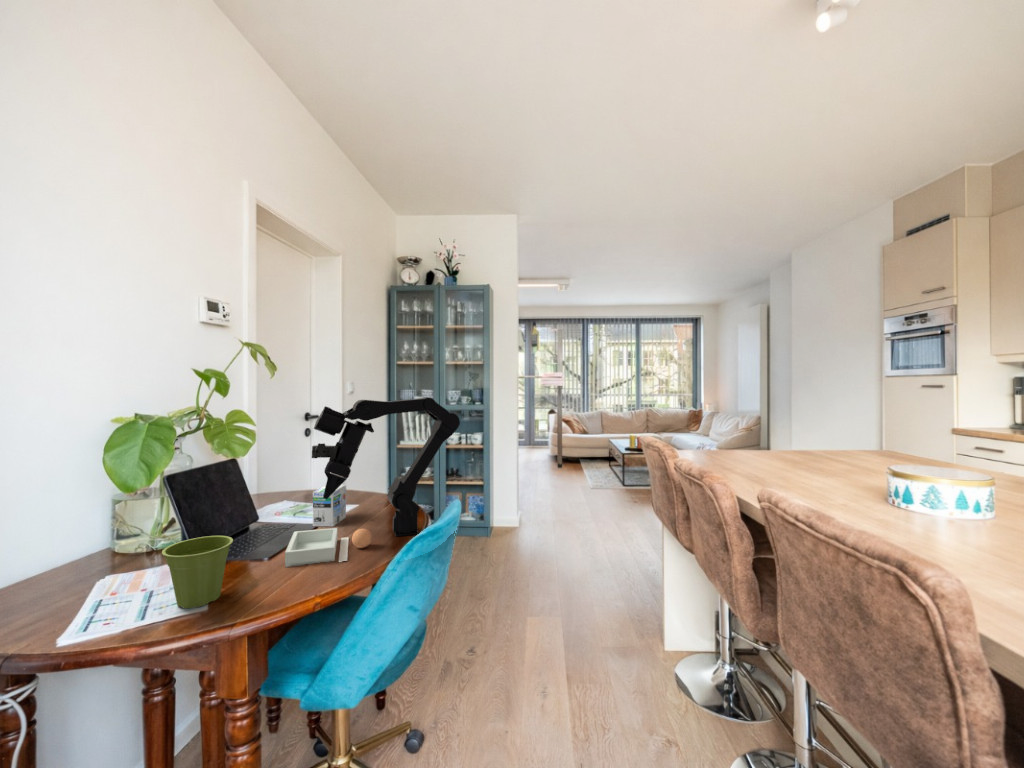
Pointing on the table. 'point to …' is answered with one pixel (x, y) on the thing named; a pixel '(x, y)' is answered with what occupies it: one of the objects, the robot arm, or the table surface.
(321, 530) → the tray
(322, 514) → the light bulb box
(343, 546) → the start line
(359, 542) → the ball
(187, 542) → the plant pot
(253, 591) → the table surface
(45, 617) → the table surface
